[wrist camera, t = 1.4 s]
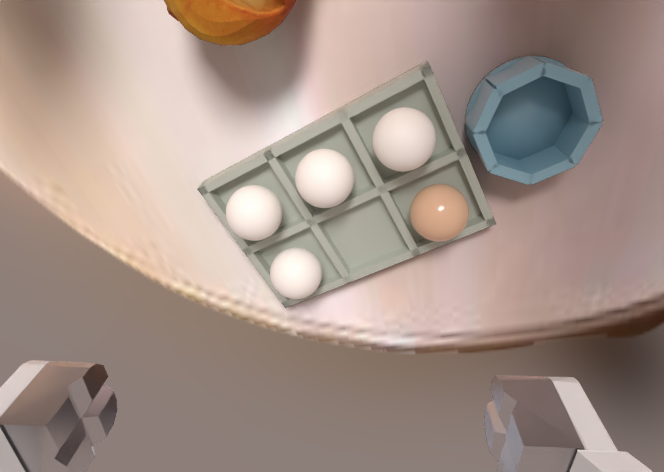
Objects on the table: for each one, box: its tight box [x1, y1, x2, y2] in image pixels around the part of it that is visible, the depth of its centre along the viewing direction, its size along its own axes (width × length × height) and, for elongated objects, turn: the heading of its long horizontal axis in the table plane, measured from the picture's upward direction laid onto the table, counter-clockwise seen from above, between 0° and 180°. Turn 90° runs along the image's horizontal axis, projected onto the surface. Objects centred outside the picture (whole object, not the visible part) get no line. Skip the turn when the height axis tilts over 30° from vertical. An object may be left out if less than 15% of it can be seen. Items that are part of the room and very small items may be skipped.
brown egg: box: [410, 184, 469, 242], centre depth 35 cm, size 5×5×5 cm
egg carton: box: [198, 61, 496, 308], centre depth 36 cm, size 21×14×5 cm
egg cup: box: [465, 56, 603, 185], centre depth 32 cm, size 8×8×4 cm
